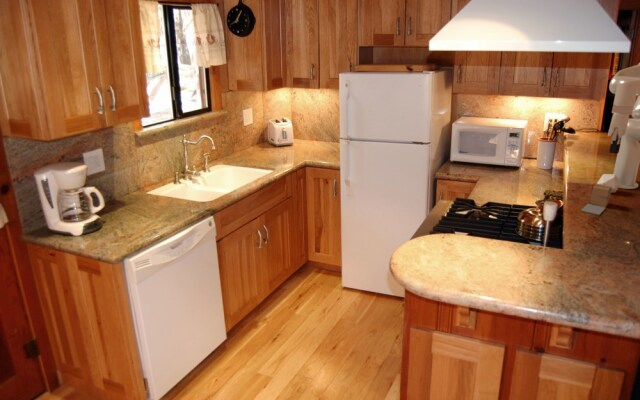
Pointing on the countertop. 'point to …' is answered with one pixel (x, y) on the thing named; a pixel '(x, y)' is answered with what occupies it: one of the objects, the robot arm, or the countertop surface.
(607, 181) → the die
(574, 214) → the countertop surface
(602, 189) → the block
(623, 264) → the countertop surface
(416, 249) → the countertop surface
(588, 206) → the mat
